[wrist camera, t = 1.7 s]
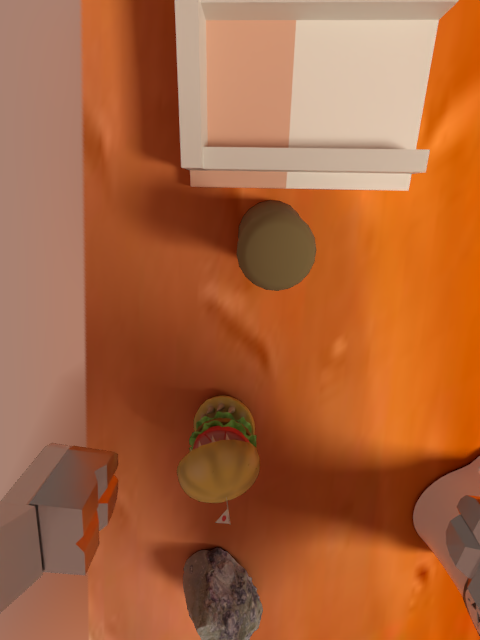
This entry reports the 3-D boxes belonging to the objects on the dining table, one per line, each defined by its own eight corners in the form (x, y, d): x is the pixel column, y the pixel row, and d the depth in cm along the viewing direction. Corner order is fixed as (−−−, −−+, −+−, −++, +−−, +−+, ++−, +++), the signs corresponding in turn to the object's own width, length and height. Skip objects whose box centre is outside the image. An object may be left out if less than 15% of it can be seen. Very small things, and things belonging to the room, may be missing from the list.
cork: (227, 215, 31) (212, 227, 21) (291, 189, 30) (309, 187, 20) (252, 276, 33) (249, 315, 23) (312, 253, 32) (339, 283, 22)
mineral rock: (261, 609, 50) (262, 705, 41) (188, 604, 51) (172, 698, 41) (265, 547, 46) (267, 639, 36) (185, 542, 46) (166, 632, 37)
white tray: (436, -18, 25) (478, -68, 20) (401, 190, 30) (428, 190, 25) (188, -17, 25) (172, -64, 21) (193, 186, 30) (181, 185, 26)
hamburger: (234, 375, 37) (223, 456, 25) (273, 421, 39) (279, 516, 27) (180, 410, 39) (148, 500, 27) (219, 453, 40) (204, 553, 29)
